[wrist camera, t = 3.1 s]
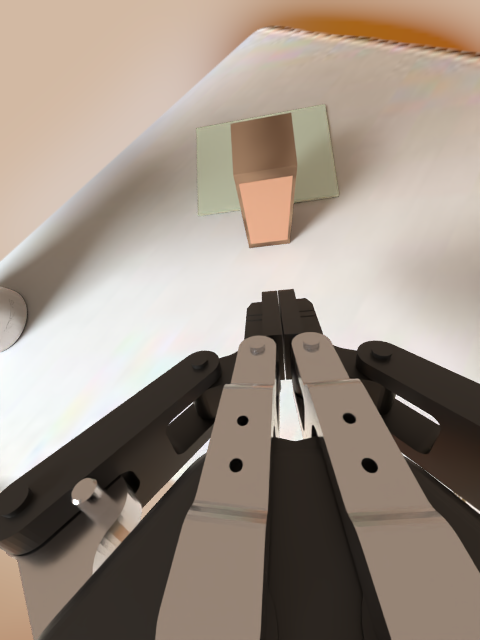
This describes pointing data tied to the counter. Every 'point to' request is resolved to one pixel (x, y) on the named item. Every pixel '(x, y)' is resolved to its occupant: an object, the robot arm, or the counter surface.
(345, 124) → the counter surface
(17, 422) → the counter surface
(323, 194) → the mat
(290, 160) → the walnut block
